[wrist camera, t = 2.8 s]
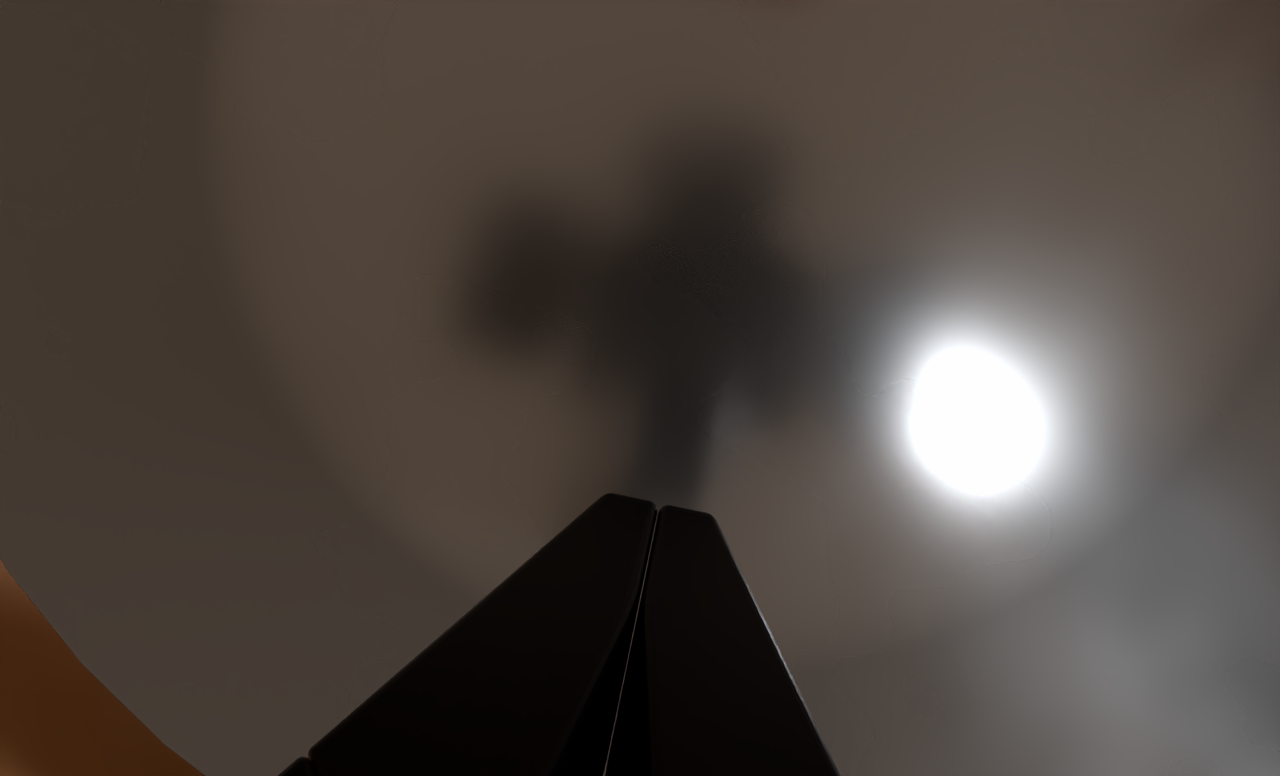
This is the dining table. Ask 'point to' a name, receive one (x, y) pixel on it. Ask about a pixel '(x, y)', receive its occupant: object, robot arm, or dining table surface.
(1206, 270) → the lid
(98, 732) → the dining table surface
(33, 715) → the dining table surface
